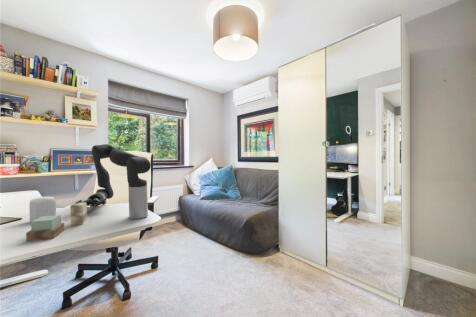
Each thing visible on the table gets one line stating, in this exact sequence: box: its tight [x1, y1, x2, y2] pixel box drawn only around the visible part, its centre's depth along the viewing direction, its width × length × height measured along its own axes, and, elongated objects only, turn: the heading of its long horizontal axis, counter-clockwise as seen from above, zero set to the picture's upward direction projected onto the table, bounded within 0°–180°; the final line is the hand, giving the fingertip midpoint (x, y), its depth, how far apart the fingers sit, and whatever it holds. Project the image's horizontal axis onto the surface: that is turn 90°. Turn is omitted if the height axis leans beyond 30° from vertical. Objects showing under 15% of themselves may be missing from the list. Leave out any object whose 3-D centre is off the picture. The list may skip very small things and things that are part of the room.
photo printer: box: [28, 196, 57, 223], centre depth 108 cm, size 10×4×12 cm, turn 123°
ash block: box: [69, 202, 88, 227], centre depth 103 cm, size 5×5×10 cm
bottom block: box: [25, 222, 65, 242], centre depth 88 cm, size 9×9×4 cm
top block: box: [30, 214, 62, 231], centre depth 88 cm, size 7×7×4 cm
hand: (87, 205), depth 113 cm, fingers open, 8 cm apart
